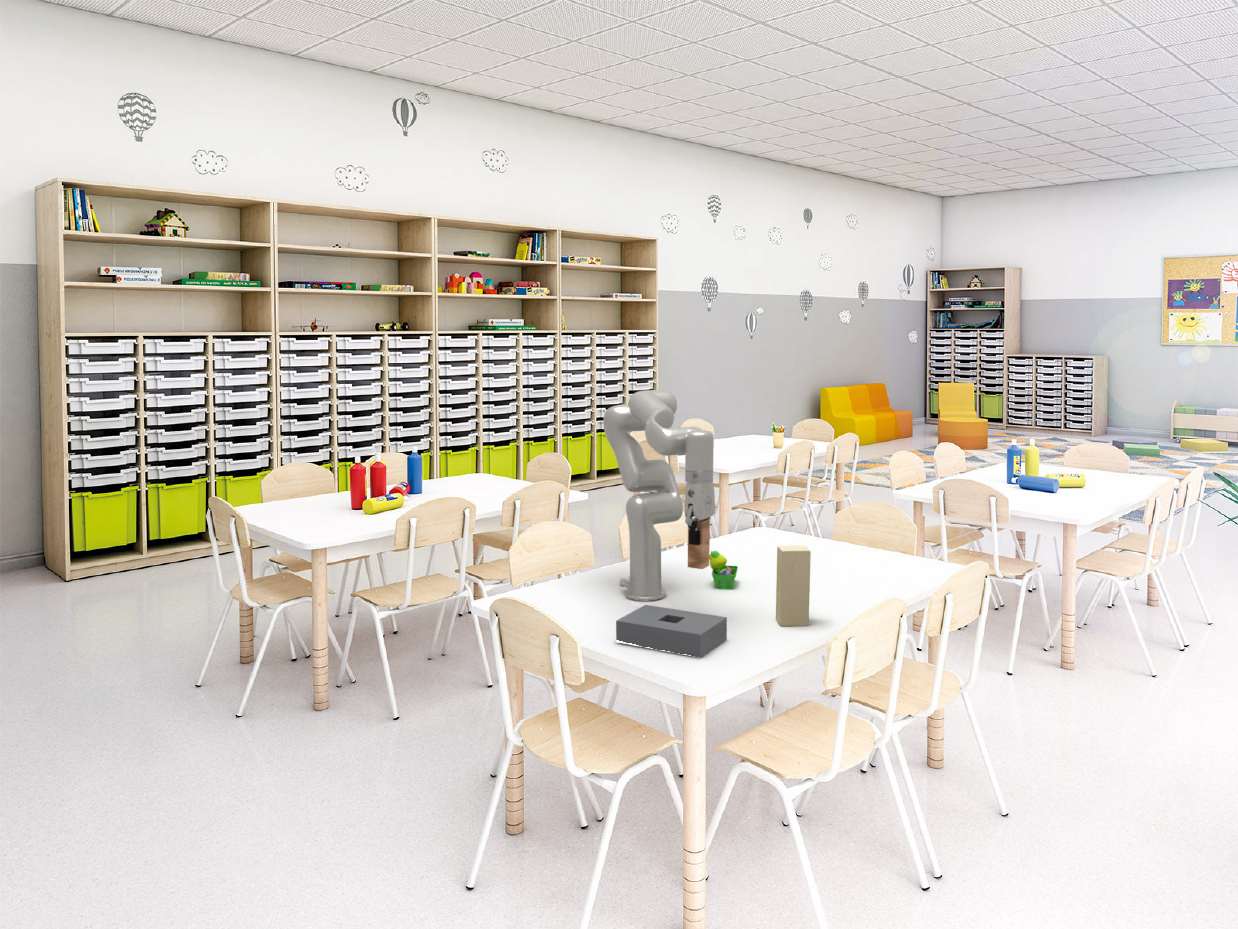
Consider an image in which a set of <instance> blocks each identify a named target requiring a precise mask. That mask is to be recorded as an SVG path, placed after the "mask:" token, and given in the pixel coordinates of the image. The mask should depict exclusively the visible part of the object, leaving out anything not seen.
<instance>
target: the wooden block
mask: <svg viewBox="0 0 1238 929" xmlns="http://www.w3.org/2000/svg"><path fill="white" fill-rule="evenodd" d="M692 518H693V519H696V517H692ZM693 522H694V523H695V524H696V521H693ZM710 522H711V518H710V519H704V520H700V524H699V530H700V545H692V544H689V530H688V529H687V568H689V569H690V568H691V569H697V570H698V569H699V570H704V569H705V568H707V567H709V566H710V559H709V555H710V535H711V533H710V528H711V527H710V526H711V524H710Z"/></svg>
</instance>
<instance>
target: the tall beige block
mask: <svg viewBox="0 0 1238 929" xmlns="http://www.w3.org/2000/svg"><path fill="white" fill-rule="evenodd" d="M776 548H777V549H776V587H775V588H776V590H775V591H776V592H775V594H776V597H775V599H776V600H775V620H776V621H777V623H778V625H779V626H781V627H808V626H809V625H810V623H809V621H810V596H811V595H810V594H811V593H810V592H811V590H810V589H811V588H810V587H811V585H810V584H811V556H812V555H811V550H810V549H809V548H808V547H807V546H806V545H777V546H776Z"/></svg>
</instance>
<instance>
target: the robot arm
mask: <svg viewBox="0 0 1238 929" xmlns="http://www.w3.org/2000/svg"><path fill="white" fill-rule="evenodd" d="M677 409H678V401H677V398H676V396H675V395H674V394H673V393H672V392H671V391H670V390H666V389H653V390H648V389H647V390H639V391H636V392H634V393H632V395H631V396H630V397H629V398H628V403H626V404H617V405H613V406H611V407H609V408H607V409H606V410H605V412H604V415H603V420H602V421H603V423H602V424H603V431H604V435H605V438H606V439H607V442H608V443H609V445H610V447H611V449H612V451H613V453H614V455H615V458H616V464H617V466H618V469H619V470H618V471H619V473H620V476H621V480H622V483H623V485H624V488H625V489H626V491H628V492H631V493H637V494H634V495H632V496H630V497H629V498H628V499H627V501H626V504H625V512H626V517H627V523H628V531H629V533H628V534H629V579H626V578H621V579H620V580H619V587H622V588H626V590H625V592H624V596H625V597H626V596H627V597H628V598H627V597H626V598H627V599H629V598H630V599H629V600H632V599H637V600H636V601H638V600H654V601H658V600H657V599H659V600H662V599H664V598H666V597H665V596H667V590H665V589H664V588H662V540H661V535H660V534H659V533H658V531H657V530H656V528H655V527H654V525H657V524H667V523H672V522H677V521H679V520H680V519H681V518H682V516H683V512H684V517H685V519H684V522H685V523H686V525H687V531H688V530H689V544H692V545H700V530H699V524H700V520H704V519H710V520H711V517H712V516H714V515H715V512H716V499H715V498H716V496H715V484H714V448H715V447H714V444H715V442H714V440H715V439H714V438H715V437H714V434H713V433H712V431H710V430H703V429H702V428H700V427H697V426H682V427H681V426H680V427H672V426H673V424H674V422H675V414H676V412H677ZM642 431H643V432H644V434H645V440H646V441H647V444H648V445H649V446H650V448H651V449H653V450H654V451H655V452H656V453H657V454H659V455H661V456H664V457H665V456H668V457H669V456H677V455H680V456H681V455H685V458H684V459H685V460H684V461H685V466H684V468H685V469H684V472H685V473H684V478H685V479H684V480H685V481H684V483H686V484H685V492H684V505H683V500H682V497H681V493H680V491H679V487H678V483H677V481H676V477H675V473H674V470H673V469H672V466H671V465H670V464H669V463H668V462H667V461H666V460H664V459H647V458H646V457H645V455H644V451H643V448H642V446H641V444H640V443H639V441H637V439H636V438H635V437H633V436H632V435H631V434H630V433H629V432H642ZM652 491H653V492H652ZM655 491H656V492H655ZM642 492H643V493H642ZM693 518H696V519H693ZM693 521H696V524H695V523H694V522H693Z"/></svg>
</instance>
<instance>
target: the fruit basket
mask: <svg viewBox="0 0 1238 929" xmlns="http://www.w3.org/2000/svg"><path fill="white" fill-rule="evenodd" d="M727 562H728V559H727V558H726V557H725V556H724V555H722V554H721V553H720V552H719V551H717V550H710V553H709V566H710V568H711V569H712V571H711V576H712V579H713V583H714V587H715V589H716V590H733V587H734V583H735V579H736V576H737V573H738V569H739V568H738V567H739V566H737V565H727Z"/></svg>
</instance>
